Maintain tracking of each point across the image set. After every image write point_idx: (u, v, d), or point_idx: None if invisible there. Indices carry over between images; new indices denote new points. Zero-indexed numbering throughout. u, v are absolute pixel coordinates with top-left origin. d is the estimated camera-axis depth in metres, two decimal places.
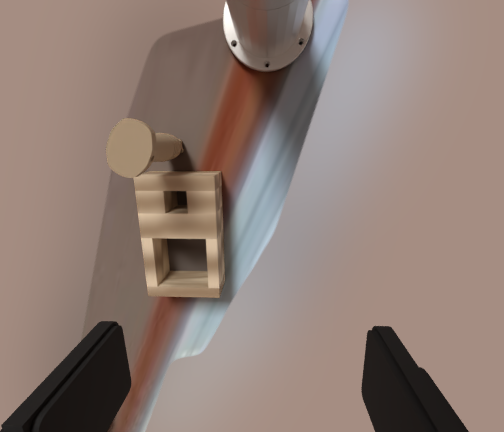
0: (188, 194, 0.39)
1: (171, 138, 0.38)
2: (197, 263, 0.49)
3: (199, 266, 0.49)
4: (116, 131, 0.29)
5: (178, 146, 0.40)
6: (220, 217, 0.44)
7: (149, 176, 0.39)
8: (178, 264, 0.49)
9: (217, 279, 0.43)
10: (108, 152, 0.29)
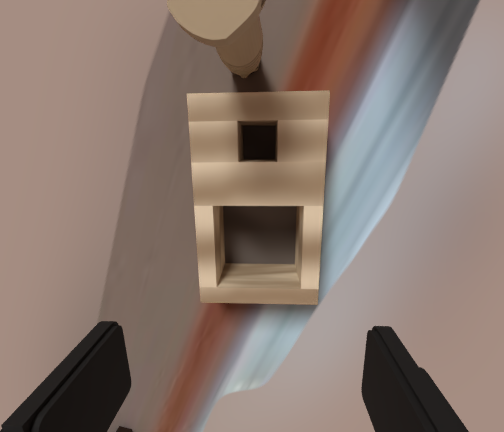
0: (281, 126, 0.23)
1: None
2: (267, 252, 0.32)
3: (271, 256, 0.32)
4: None
5: None
6: None
7: (214, 94, 0.23)
8: (238, 253, 0.32)
9: (317, 274, 0.26)
10: None
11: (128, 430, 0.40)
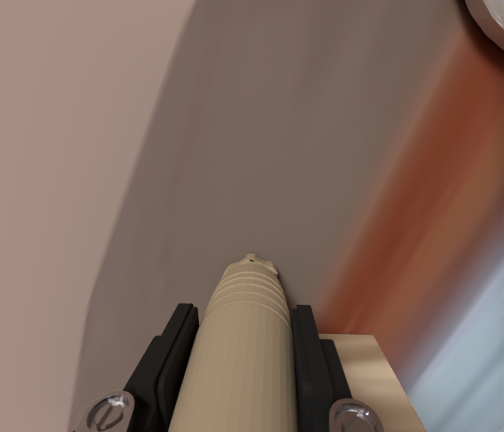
0: None
1: (283, 318, 0.10)
2: None
3: None
4: None
5: None
6: None
7: None
8: None
9: None
10: None
11: None
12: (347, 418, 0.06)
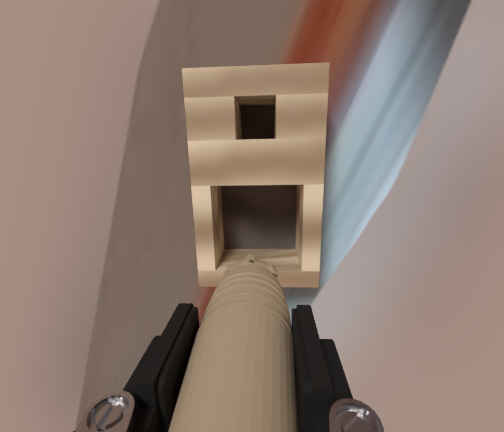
0: (279, 101, 0.22)
1: (283, 319, 0.10)
2: (267, 237, 0.31)
3: (271, 241, 0.32)
4: None
5: None
6: None
7: (210, 69, 0.22)
8: (237, 238, 0.32)
9: (318, 256, 0.26)
10: None
11: None
12: (347, 418, 0.06)
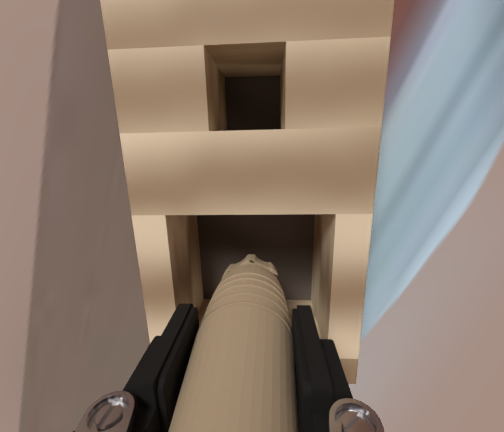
0: (292, 55, 0.11)
1: (283, 319, 0.10)
2: None
3: None
4: None
5: None
6: None
7: None
8: None
9: (356, 335, 0.15)
10: None
11: None
12: (347, 418, 0.06)
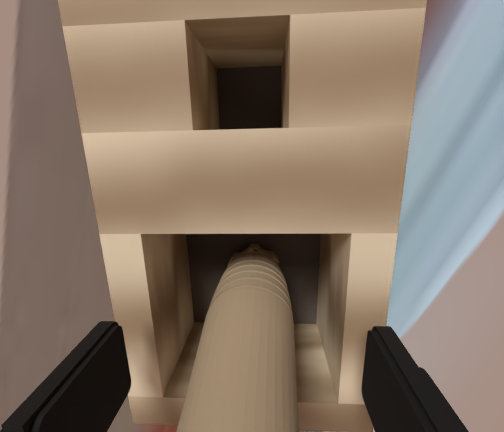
0: (298, 32, 0.09)
1: (284, 301, 0.11)
2: None
3: None
4: None
5: None
6: None
7: None
8: None
9: None
10: None
11: None
12: None
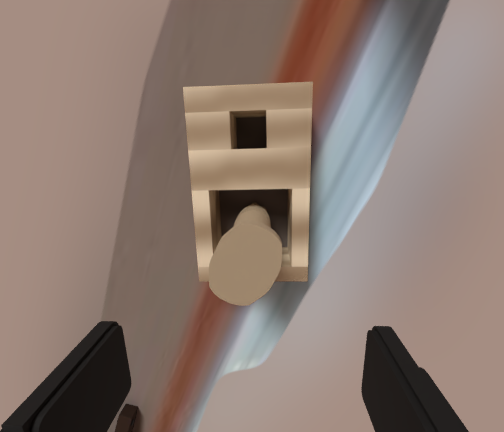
0: (269, 115, 0.25)
1: (266, 216, 0.28)
2: None
3: None
4: (227, 243, 0.19)
5: None
6: None
7: (208, 87, 0.25)
8: None
9: (306, 252, 0.28)
10: (212, 271, 0.19)
11: (134, 407, 0.42)
12: None
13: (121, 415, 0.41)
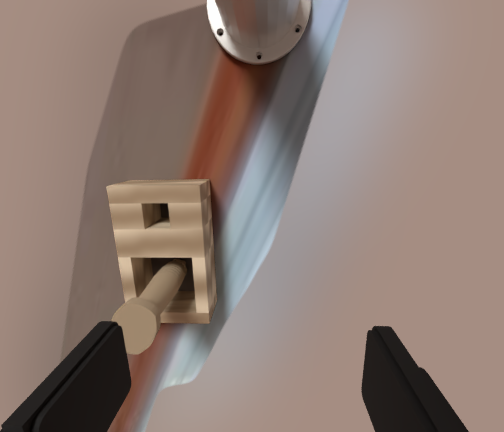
0: (170, 207, 0.34)
1: (175, 276, 0.37)
2: (185, 283, 0.43)
3: (187, 285, 0.43)
4: (119, 314, 0.28)
5: (182, 277, 0.39)
6: (209, 231, 0.39)
7: (124, 187, 0.34)
8: None
9: (206, 303, 0.37)
10: None
11: None
12: None
13: None
